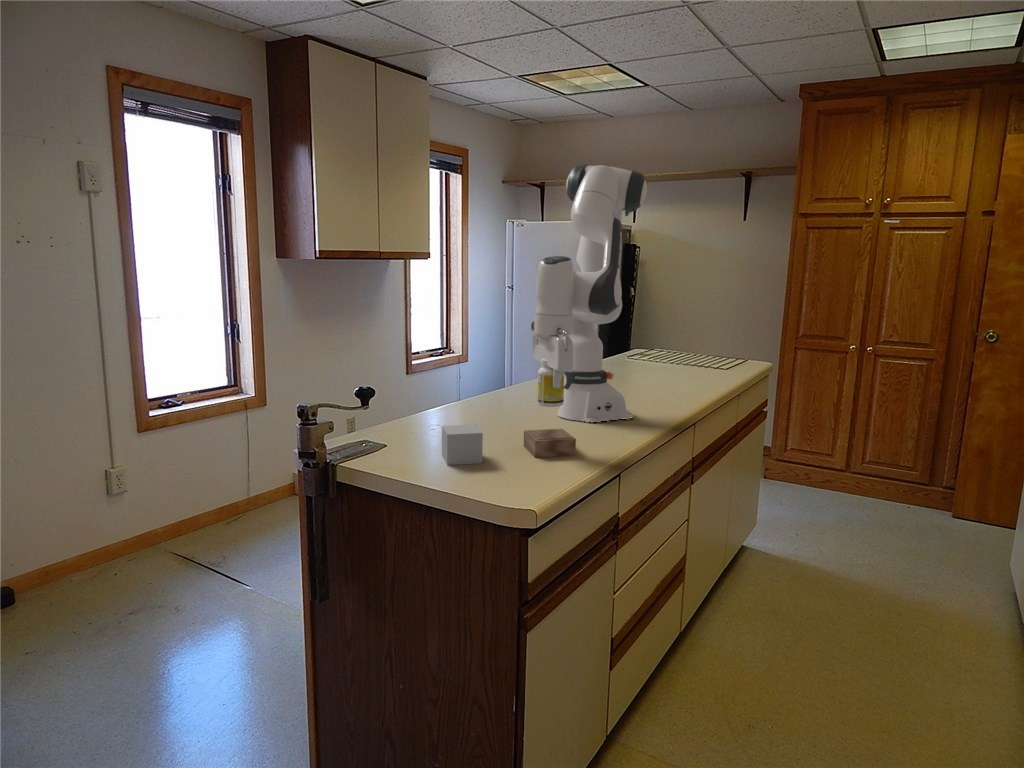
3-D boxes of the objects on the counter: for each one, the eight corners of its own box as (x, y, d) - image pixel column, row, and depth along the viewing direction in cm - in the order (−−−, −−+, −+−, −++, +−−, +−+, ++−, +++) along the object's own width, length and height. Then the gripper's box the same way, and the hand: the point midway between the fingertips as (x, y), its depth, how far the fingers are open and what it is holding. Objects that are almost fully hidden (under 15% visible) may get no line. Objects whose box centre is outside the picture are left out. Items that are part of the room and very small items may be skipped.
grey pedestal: (475, 453, 157) (475, 424, 156) (482, 463, 149) (482, 433, 148) (441, 454, 155) (441, 425, 154) (447, 465, 147) (447, 434, 146)
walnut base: (561, 444, 166) (562, 428, 166) (575, 455, 157) (575, 438, 156) (523, 446, 164) (523, 429, 163) (534, 457, 154) (535, 440, 154)
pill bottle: (568, 404, 159) (569, 359, 157) (552, 408, 154) (553, 361, 152) (548, 401, 163) (549, 356, 161) (532, 404, 158) (533, 359, 156)
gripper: (581, 331, 146) (578, 392, 148) (552, 322, 165) (550, 377, 168) (554, 331, 144) (551, 393, 147) (528, 322, 164) (526, 377, 166)
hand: (551, 384), depth 157 cm, fingers closed on pill bottle, 6 cm apart
